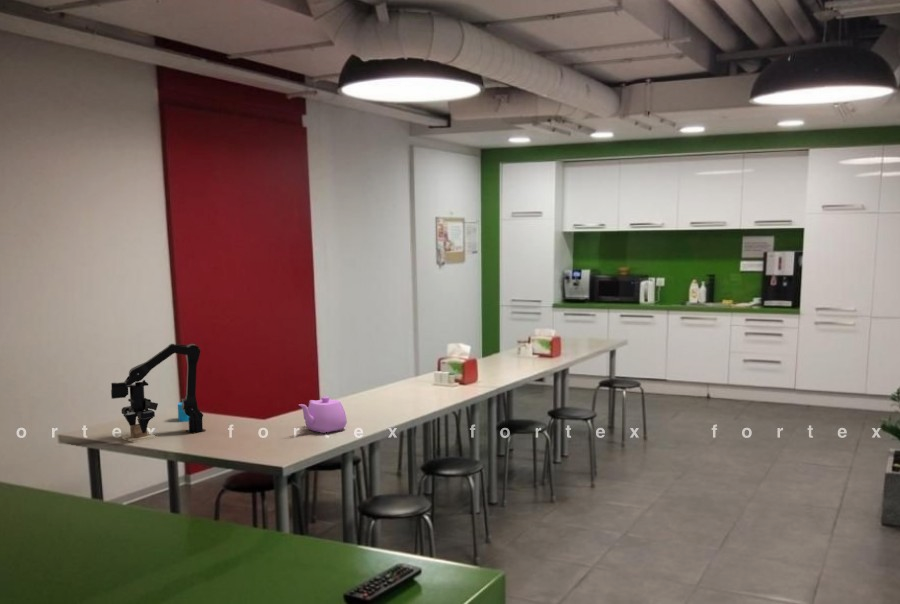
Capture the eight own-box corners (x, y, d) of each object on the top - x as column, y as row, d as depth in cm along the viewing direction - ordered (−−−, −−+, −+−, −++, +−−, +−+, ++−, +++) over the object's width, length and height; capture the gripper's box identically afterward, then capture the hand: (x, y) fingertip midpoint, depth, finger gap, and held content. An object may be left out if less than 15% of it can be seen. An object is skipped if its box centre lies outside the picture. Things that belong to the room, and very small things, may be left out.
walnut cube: (147, 436, 314) (146, 424, 314) (136, 438, 310) (135, 427, 310) (141, 434, 317) (141, 423, 317) (130, 436, 314) (130, 425, 313)
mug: (189, 422, 344) (189, 405, 344) (174, 421, 346) (174, 404, 345) (204, 416, 356) (203, 400, 355) (189, 416, 358) (188, 399, 357)
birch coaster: (155, 437, 315) (155, 435, 315) (133, 442, 307) (133, 440, 307) (144, 434, 321) (144, 432, 321) (122, 438, 313) (122, 437, 313)
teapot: (325, 422, 339) (324, 390, 338) (352, 429, 324) (351, 396, 323) (283, 431, 323) (282, 398, 322) (310, 439, 308) (309, 404, 307)
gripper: (165, 395, 313) (167, 430, 314) (144, 391, 325) (146, 425, 326) (140, 399, 304) (142, 436, 305) (120, 395, 316) (121, 429, 317)
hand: (138, 431), depth 314 cm, fingers open, 9 cm apart
